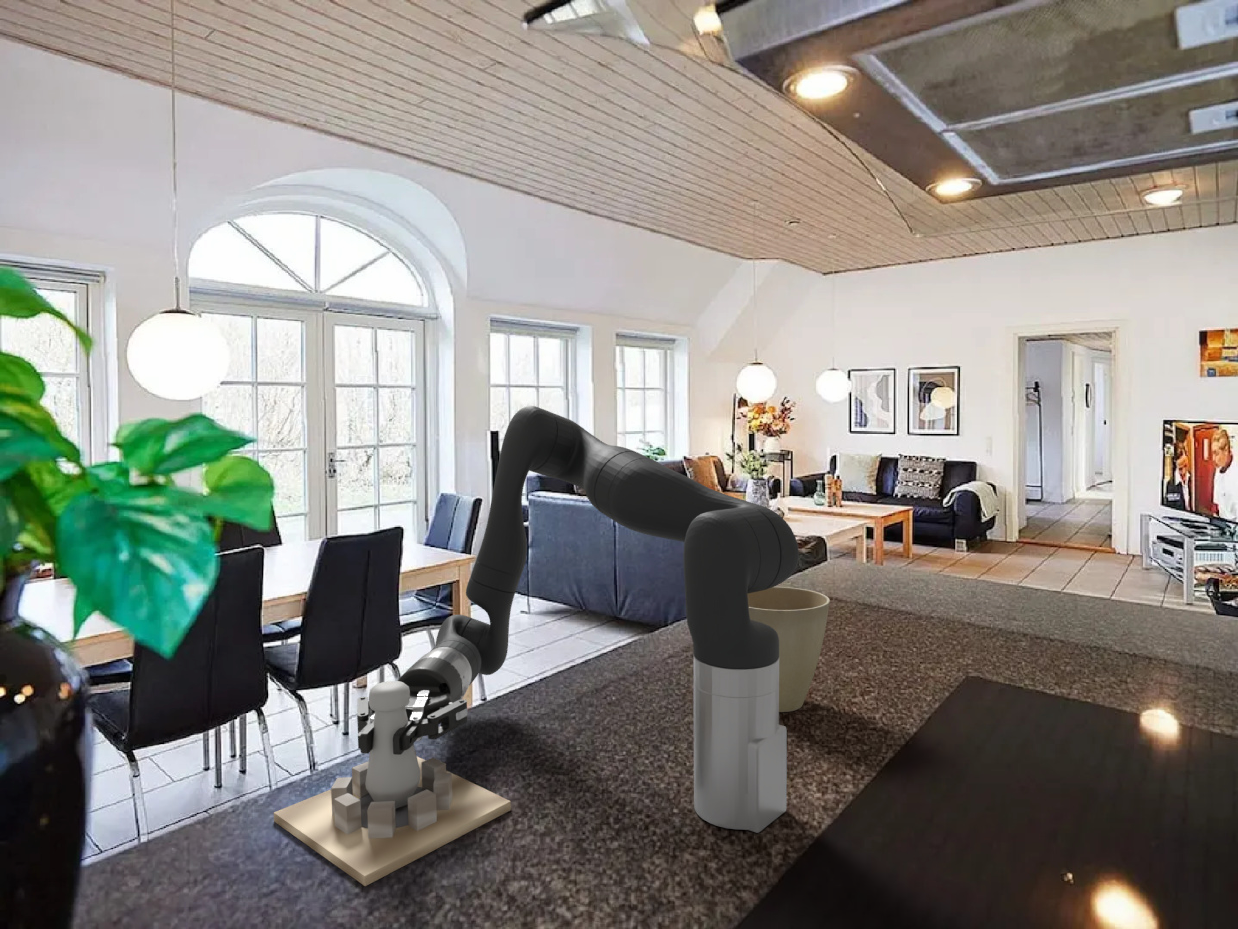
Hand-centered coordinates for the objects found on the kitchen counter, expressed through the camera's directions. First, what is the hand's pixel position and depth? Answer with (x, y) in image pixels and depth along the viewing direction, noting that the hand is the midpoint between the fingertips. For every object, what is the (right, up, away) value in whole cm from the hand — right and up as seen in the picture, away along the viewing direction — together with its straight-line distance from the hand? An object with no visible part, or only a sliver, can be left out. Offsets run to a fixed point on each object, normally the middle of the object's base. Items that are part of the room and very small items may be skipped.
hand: (380, 745), depth 83 cm
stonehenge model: (0, -9, +3) cm, 10 cm away
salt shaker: (0, -7, +4) cm, 8 cm away
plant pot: (+48, -6, +34) cm, 60 cm away
